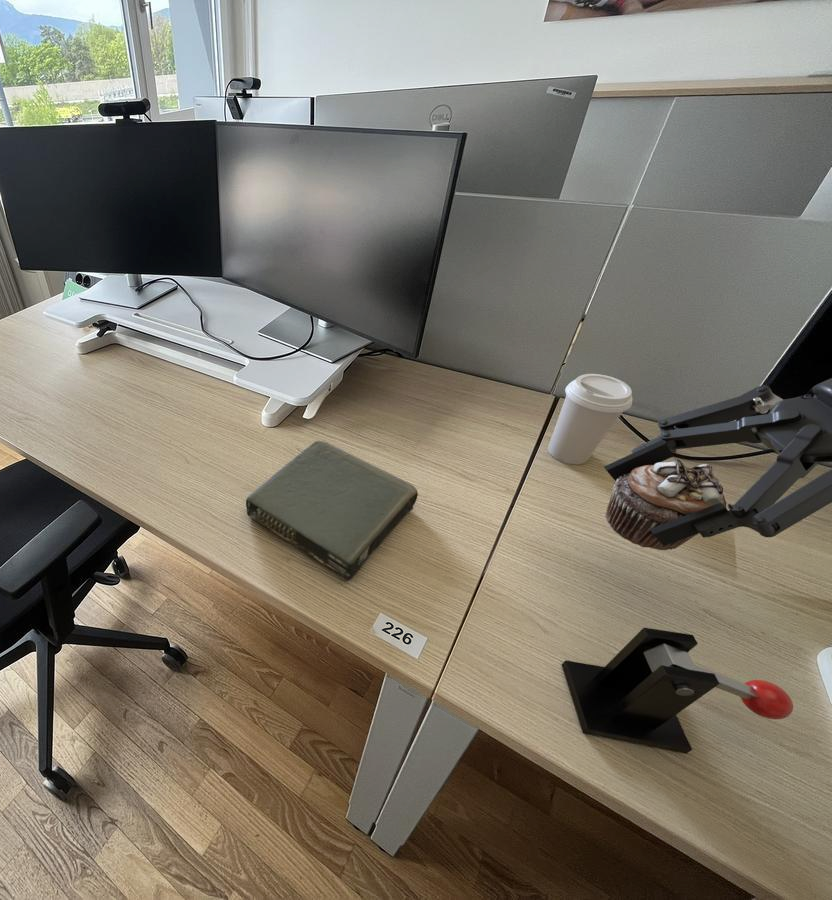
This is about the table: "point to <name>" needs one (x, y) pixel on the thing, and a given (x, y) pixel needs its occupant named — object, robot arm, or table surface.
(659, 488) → the cupcake
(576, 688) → the switch bracket
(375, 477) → the network switch
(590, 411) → the coffee cup
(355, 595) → the table surface
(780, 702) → the switch lever
